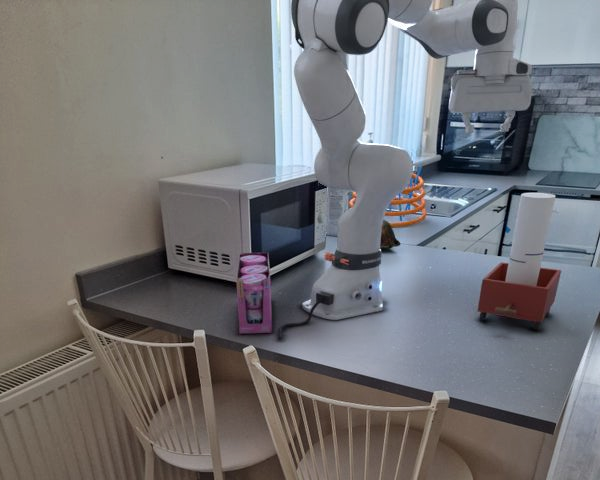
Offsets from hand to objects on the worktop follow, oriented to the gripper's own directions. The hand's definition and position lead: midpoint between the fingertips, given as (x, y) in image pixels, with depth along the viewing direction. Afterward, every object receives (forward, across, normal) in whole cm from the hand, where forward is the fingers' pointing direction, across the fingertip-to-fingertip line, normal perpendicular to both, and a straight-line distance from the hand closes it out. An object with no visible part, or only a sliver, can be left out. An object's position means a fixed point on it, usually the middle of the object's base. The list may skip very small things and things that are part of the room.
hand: (486, 132), depth 136 cm
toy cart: (+43, -1, -24) cm, 49 cm away
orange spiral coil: (+31, +5, +99) cm, 104 cm away
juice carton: (+33, -24, +77) cm, 87 cm away
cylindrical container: (+39, +1, -23) cm, 45 cm away
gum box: (+41, -63, -9) cm, 75 cm away
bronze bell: (+36, -14, +49) cm, 62 cm away
